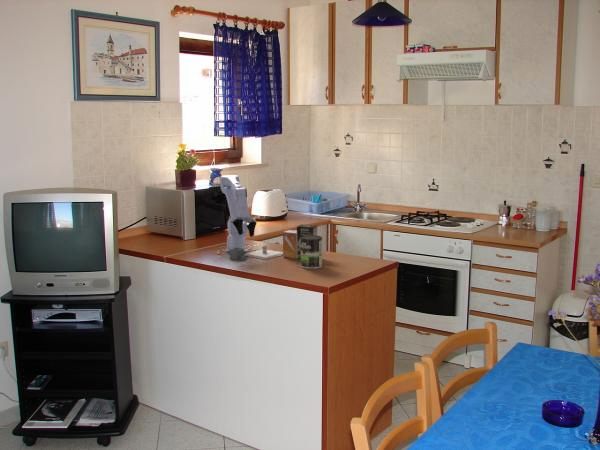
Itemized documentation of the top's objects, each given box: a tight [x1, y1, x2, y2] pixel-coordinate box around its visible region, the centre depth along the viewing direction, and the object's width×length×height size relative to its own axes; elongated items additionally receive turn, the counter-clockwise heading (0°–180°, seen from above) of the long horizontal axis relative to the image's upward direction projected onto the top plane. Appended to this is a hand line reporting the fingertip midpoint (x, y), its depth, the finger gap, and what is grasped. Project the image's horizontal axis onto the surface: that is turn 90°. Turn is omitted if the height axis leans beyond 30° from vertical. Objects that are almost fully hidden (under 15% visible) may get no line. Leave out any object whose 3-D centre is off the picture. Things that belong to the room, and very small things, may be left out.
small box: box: [282, 229, 299, 260], centre depth 347 cm, size 8×6×13 cm
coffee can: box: [300, 235, 323, 270], centre depth 326 cm, size 10×10×14 cm
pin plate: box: [244, 245, 283, 260], centre depth 352 cm, size 14×14×5 cm
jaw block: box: [229, 248, 247, 261], centre depth 345 cm, size 8×5×5 cm, turn 50°
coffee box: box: [296, 223, 318, 259], centre depth 344 cm, size 9×6×16 cm
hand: (246, 235), depth 343 cm, fingers open, 7 cm apart
